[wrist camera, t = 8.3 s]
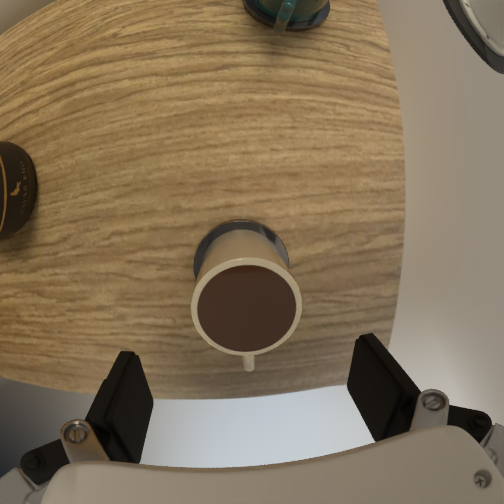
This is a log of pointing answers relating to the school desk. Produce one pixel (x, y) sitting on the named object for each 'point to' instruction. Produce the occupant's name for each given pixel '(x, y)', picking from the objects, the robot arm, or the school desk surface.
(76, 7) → the school desk surface
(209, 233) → the dark grey round coaster
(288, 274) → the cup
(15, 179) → the jar
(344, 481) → the robot arm
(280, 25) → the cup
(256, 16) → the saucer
